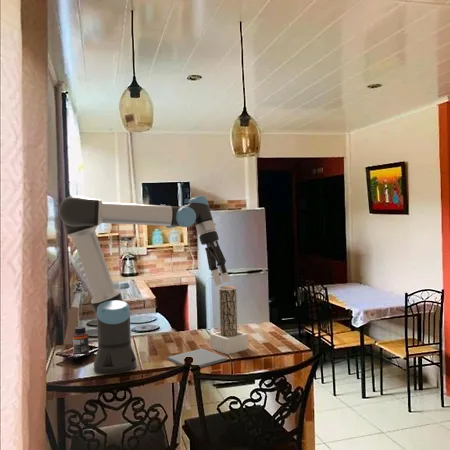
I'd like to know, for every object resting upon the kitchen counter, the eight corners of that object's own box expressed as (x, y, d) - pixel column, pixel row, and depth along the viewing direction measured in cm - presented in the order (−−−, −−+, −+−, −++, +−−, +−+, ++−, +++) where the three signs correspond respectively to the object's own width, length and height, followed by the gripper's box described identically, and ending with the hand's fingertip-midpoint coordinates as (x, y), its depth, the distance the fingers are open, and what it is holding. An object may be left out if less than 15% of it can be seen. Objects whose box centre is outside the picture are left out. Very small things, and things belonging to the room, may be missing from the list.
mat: (190, 370, 166) (190, 367, 166) (167, 359, 179) (167, 356, 179) (226, 360, 176) (226, 357, 176) (202, 350, 189) (202, 348, 188)
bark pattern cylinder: (236, 351, 187) (234, 288, 186) (219, 350, 188) (217, 288, 187) (239, 346, 193) (237, 286, 193) (222, 345, 195) (221, 285, 194)
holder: (227, 354, 183) (226, 339, 183) (210, 348, 192) (210, 333, 191) (248, 348, 190) (247, 334, 190) (231, 343, 198) (231, 329, 198)
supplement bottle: (82, 352, 191) (81, 324, 191) (92, 354, 188) (91, 326, 187) (70, 356, 186) (69, 328, 186) (80, 358, 183) (79, 329, 182)
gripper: (222, 224, 181) (239, 277, 177) (210, 236, 204) (224, 283, 201) (204, 229, 179) (220, 282, 175) (193, 241, 202) (207, 288, 199)
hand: (222, 283), depth 188 cm, fingers open, 13 cm apart
